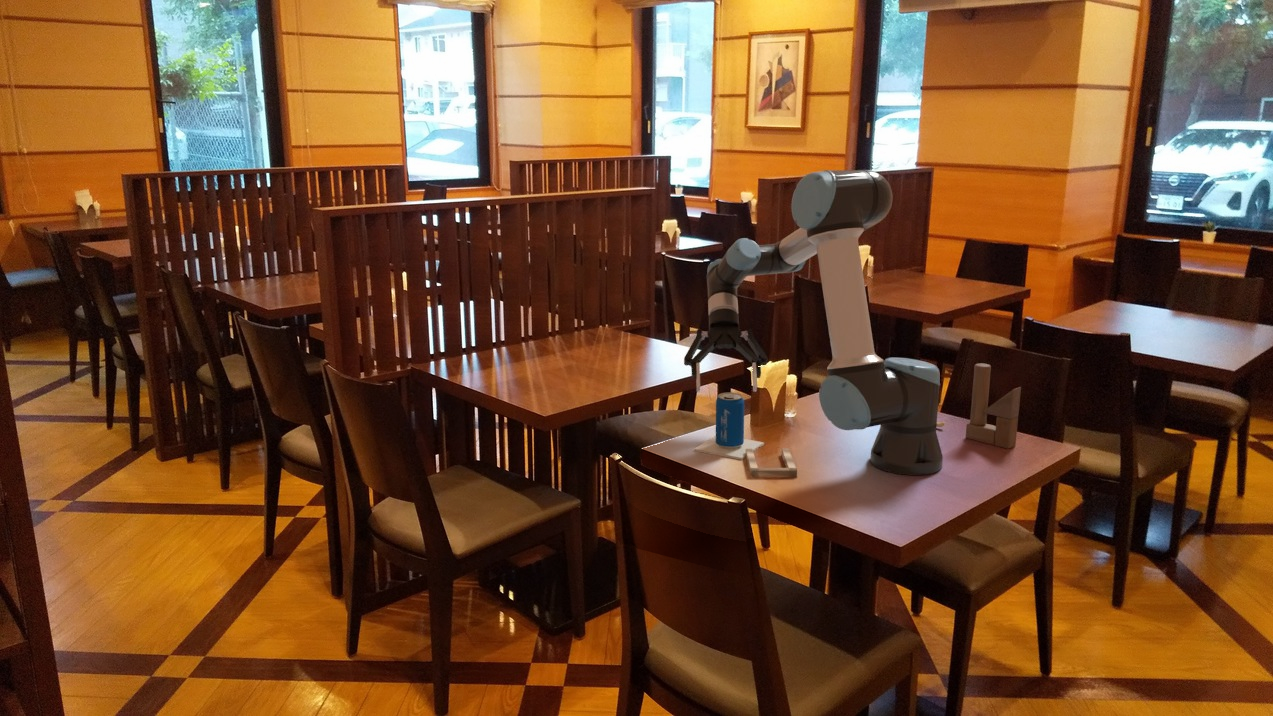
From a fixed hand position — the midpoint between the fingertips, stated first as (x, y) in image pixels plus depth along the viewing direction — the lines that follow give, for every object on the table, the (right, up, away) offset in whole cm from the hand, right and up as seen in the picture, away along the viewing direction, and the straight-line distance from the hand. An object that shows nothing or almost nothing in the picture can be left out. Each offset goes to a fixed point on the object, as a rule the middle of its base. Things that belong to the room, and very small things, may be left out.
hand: (726, 389), depth 214 cm
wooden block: (+61, -12, -5) cm, 63 cm away
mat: (0, -13, -7) cm, 15 cm away
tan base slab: (+8, -16, -18) cm, 26 cm away
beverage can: (0, -13, -7) cm, 15 cm away
